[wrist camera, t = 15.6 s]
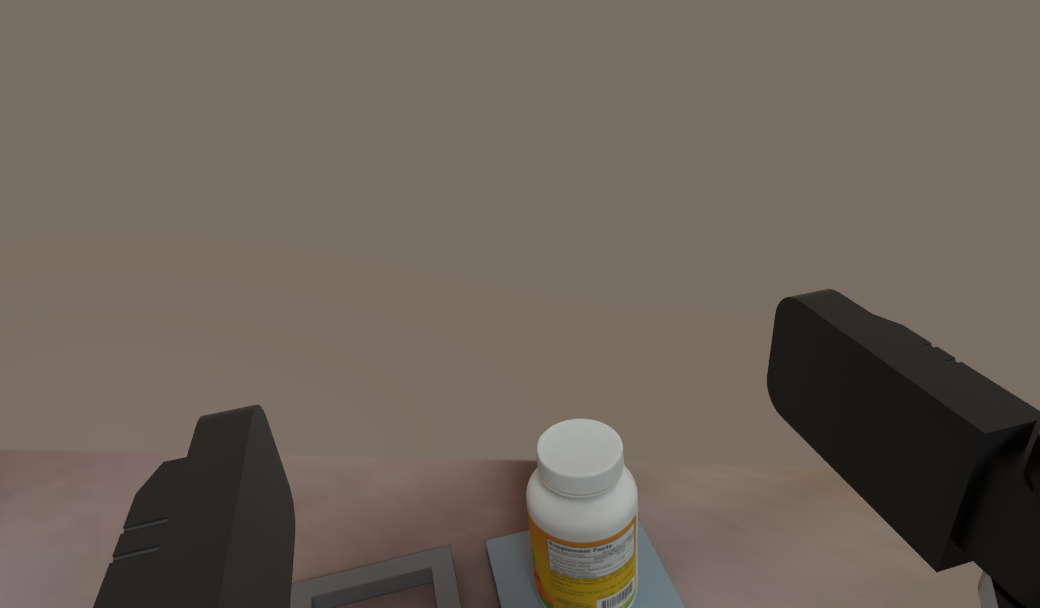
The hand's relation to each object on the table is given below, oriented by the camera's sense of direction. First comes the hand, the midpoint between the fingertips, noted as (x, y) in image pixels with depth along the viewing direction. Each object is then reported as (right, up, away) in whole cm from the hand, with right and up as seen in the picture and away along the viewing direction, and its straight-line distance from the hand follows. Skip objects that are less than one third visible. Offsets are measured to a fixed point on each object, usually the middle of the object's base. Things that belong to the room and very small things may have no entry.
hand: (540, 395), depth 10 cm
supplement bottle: (+3, -14, +24) cm, 28 cm away
